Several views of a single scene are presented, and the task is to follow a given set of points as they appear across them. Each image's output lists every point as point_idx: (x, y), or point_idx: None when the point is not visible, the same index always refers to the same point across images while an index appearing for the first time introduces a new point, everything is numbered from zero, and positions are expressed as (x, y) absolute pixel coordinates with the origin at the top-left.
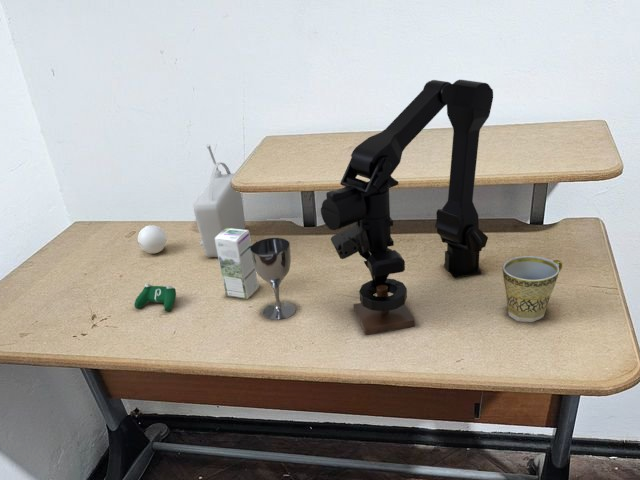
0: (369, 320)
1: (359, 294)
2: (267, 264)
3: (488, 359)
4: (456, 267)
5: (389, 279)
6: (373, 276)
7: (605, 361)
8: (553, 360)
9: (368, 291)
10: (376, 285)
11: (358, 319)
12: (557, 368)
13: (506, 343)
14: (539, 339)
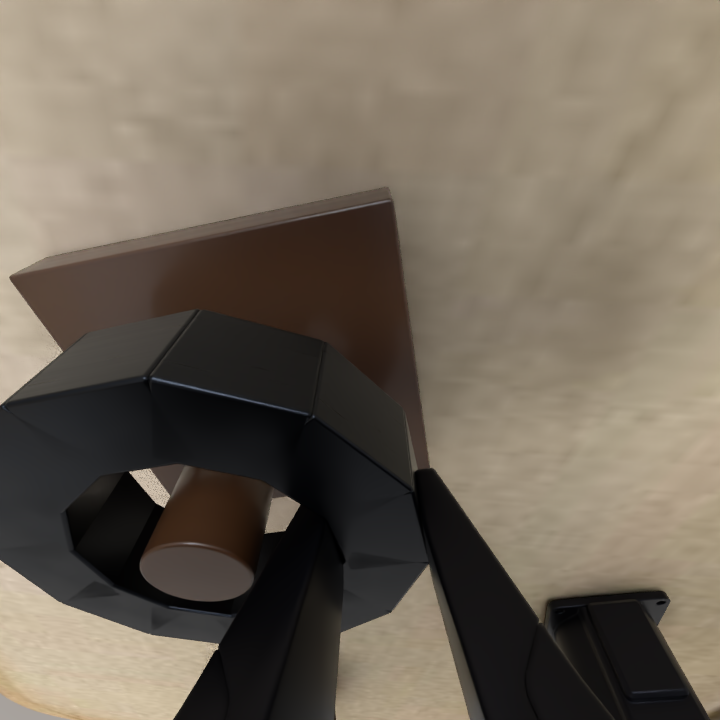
0: (133, 313)
1: (154, 351)
2: None
3: (28, 605)
4: (585, 640)
5: (388, 596)
6: (292, 622)
7: (100, 708)
8: (76, 672)
9: (148, 464)
10: (291, 524)
11: (223, 222)
12: (44, 672)
13: (129, 635)
14: (163, 670)
